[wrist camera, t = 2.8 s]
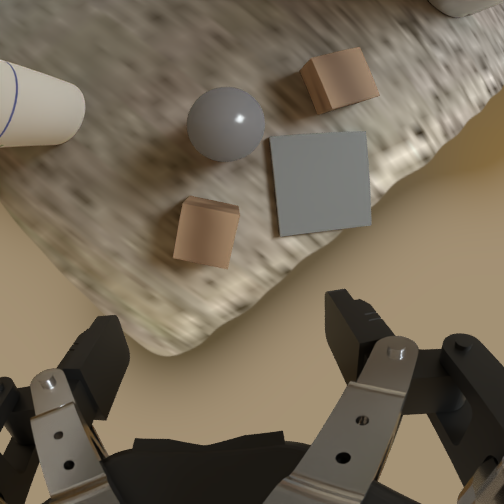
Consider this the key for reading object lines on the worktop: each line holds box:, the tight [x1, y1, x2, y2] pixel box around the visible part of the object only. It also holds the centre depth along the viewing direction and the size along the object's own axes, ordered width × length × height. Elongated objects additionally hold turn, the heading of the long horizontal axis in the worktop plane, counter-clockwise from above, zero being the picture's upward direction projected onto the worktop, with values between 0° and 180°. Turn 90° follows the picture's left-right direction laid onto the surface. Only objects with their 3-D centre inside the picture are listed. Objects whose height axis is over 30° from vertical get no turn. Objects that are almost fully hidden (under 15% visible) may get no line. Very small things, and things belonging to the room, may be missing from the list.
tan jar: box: [187, 87, 265, 162], centre depth 25 cm, size 6×6×9 cm
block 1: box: [173, 196, 240, 269], centre depth 30 cm, size 5×5×5 cm
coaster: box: [269, 131, 371, 237], centre depth 31 cm, size 10×10×1 cm
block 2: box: [300, 47, 380, 115], centre depth 27 cm, size 5×5×5 cm
